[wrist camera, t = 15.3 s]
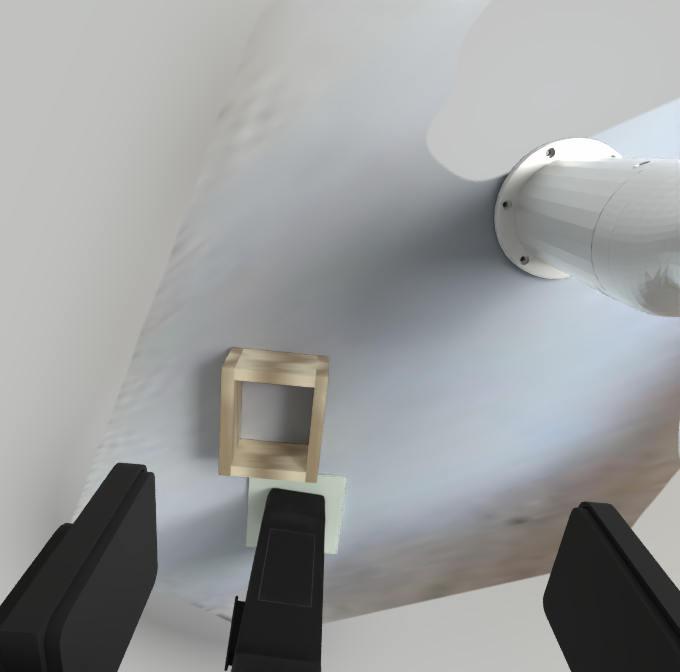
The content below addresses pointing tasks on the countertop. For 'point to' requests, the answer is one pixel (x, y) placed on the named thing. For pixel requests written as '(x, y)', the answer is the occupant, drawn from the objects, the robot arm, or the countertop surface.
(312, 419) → the wooden pocket
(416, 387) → the countertop surface
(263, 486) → the rubber mat
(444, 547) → the countertop surface
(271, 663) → the portable radio
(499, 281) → the countertop surface
